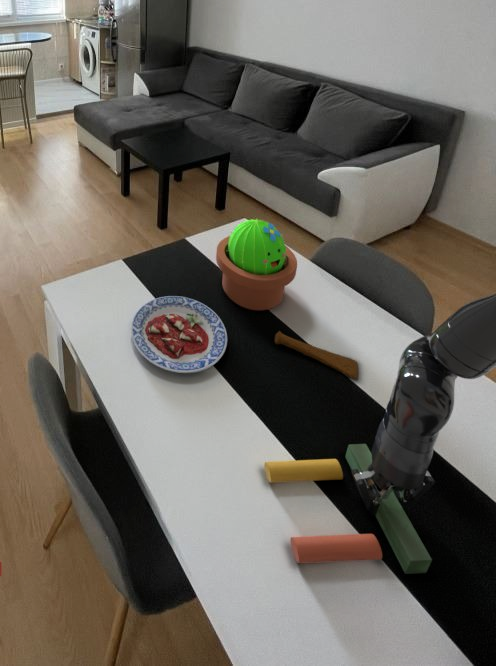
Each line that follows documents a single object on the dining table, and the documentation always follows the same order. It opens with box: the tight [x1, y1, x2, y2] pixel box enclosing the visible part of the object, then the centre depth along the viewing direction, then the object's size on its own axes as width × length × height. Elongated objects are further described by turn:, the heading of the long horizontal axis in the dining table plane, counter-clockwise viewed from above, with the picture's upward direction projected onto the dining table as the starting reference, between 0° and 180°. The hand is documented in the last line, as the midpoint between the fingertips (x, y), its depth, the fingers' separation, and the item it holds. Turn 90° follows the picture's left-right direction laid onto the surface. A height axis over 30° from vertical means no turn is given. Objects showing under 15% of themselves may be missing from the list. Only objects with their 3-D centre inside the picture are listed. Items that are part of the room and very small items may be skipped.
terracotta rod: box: [289, 533, 383, 564], centre depth 73 cm, size 14×3×3 cm, turn 91°
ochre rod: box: [264, 458, 344, 484], centre depth 84 cm, size 14×3×3 cm, turn 91°
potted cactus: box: [215, 217, 298, 311], centre depth 127 cm, size 22×22×25 cm
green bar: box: [345, 443, 433, 575], centre depth 78 cm, size 4×18×4 cm, turn 1°
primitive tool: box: [274, 330, 359, 379], centre depth 109 cm, size 19×6×4 cm, turn 62°
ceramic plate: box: [130, 295, 228, 374], centre depth 117 cm, size 26×26×3 cm
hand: (381, 508), depth 79 cm, fingers closed on green bar, 3 cm apart
